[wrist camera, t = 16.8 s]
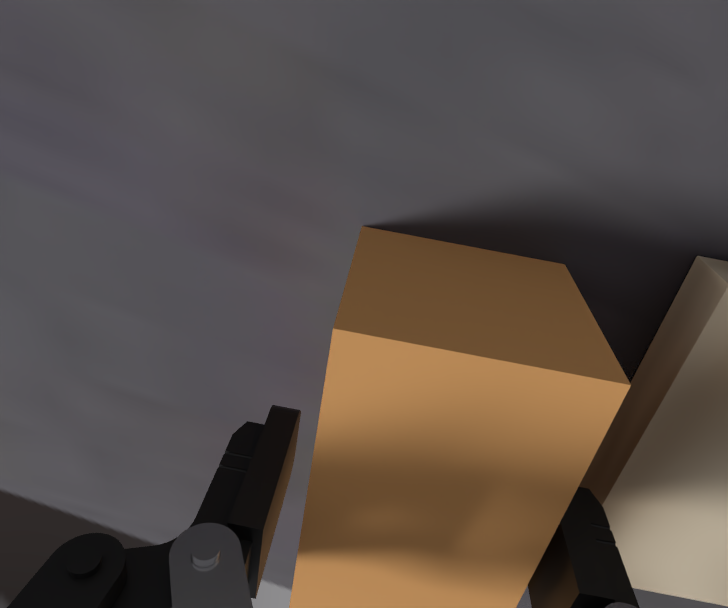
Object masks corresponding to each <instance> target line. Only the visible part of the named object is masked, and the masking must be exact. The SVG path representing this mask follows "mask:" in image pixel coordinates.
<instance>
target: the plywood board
mask: <svg viewBox="0 0 728 608" xmlns="http://www.w3.org/2000/svg"><path fill="white" fill-rule="evenodd" d="M630 384H631V386H630V388H629V390H628V392H627V394H626V396H625V398H624V400H623V402H622V404H621V406H620V408H619V410H618V412H617V413H616V415H615V417H614V419H613V421H612V423H611V425H610V427H609V429H608V431H607V433H606V435H605V437H604V439H603V440H602V442H601V444H600V446H599V448H598V450H597V452H596V454H595V456H594V458H593V460H592V462H591V464H590V466H589V467H588V469H587V471H586V473H585V475H584V477H583V479H582V481H581V483H580V485H579V487H583V488H588V489H590V491H591V492H592V493H593V495H594V496H595V497H596V498H597V500H598V501H599V502H600V504H601V505H602V506H603V508H604V511H605V513H606V516H607V519H608V522H609V525H610V530H611V531H612V533H613V536H614V539H615V541H616V547H618V550H619V553H620V555H621V558H622V561H623V564H624V566H625V569H626V572H627V575H628V578H629V580H630V583H631V586H632V588H637V589H642V590H647V591H652V592H657V593H662V594H667V595H672V596H678V597H683V598H688V599H693V600H698V601H703V602H708V603H714V604H719V605H724V606H728V261H722V260H717V259H712V258H707V257H702V256H697V257H696V259H695V261H694V263H693V264H692V266H691V268H690V270H689V272H688V274H687V276H686V278H685V280H684V282H683V284H682V285H681V287H680V289H679V291H678V293H677V295H676V297H675V299H674V301H673V303H672V304H671V306H670V308H669V310H668V312H667V314H666V316H665V318H664V320H663V322H662V324H661V325H660V327H659V329H658V331H657V333H656V335H655V337H654V339H653V341H652V343H651V345H650V346H649V348H648V350H647V352H646V354H645V356H644V358H643V360H642V362H641V364H640V365H639V367H638V369H637V371H636V373H635V375H634V377H633V379H632V381H631V383H630Z"/></svg>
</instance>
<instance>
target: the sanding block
mask: <svg viewBox="0 0 728 608" xmlns="http://www.w3.org/2000/svg"><path fill="white" fill-rule="evenodd" d="M630 386H631V384H630V382H629V380H628V379H627V377H626V375H625V373H624V371H623V369H622V368H621V366H620V364H619V362H618V360H617V359H616V357H615V355H614V353H613V351H612V349H611V348H610V346H609V344H608V342H607V340H606V338H605V337H604V335H603V333H602V331H601V329H600V328H599V326H598V324H597V322H596V320H595V318H594V317H593V315H592V313H591V311H590V309H589V307H588V306H587V304H586V302H585V300H584V298H583V297H582V295H581V293H580V291H579V289H578V287H577V286H576V284H575V282H574V280H573V278H572V276H571V275H570V273H569V271H568V269H567V267H566V265H565V264H560V263H555V262H550V261H545V260H539V259H534V258H529V257H523V256H518V255H513V254H507V253H502V252H497V251H492V250H486V249H481V248H476V247H470V246H465V245H460V244H454V243H449V242H444V241H439V240H433V239H428V238H423V237H417V236H412V235H407V234H401V233H396V232H391V231H386V230H380V229H375V228H370V227H364V226H362V228H361V232H360V235H359V239H358V242H357V246H356V249H355V253H354V256H353V260H352V264H351V267H350V271H349V274H348V278H347V281H346V285H345V288H344V292H343V296H342V299H341V303H340V306H339V310H338V313H337V317H336V320H335V324H334V327H333V333H332V339H331V346H330V352H329V358H328V365H327V371H326V377H325V384H324V390H323V396H322V403H321V409H320V415H319V422H318V428H317V434H316V441H315V447H314V453H313V460H312V466H311V472H310V479H309V485H308V491H307V498H306V504H305V510H304V517H303V523H302V529H301V536H300V542H299V549H298V555H297V561H296V568H295V574H294V580H293V587H292V593H291V599H290V606H289V608H516V606H517V604H518V602H519V601H520V599H521V597H522V595H523V593H524V591H525V589H526V587H527V585H528V583H529V581H530V579H531V577H532V575H533V574H534V572H535V570H536V568H537V566H538V564H539V562H540V560H541V558H542V556H543V554H544V552H545V550H546V548H547V547H548V545H549V543H550V541H551V539H552V537H553V535H554V533H555V531H556V529H557V527H558V525H559V523H560V521H561V520H562V518H563V516H564V514H565V512H566V510H567V508H568V506H569V504H570V502H571V500H572V498H573V496H574V494H575V493H576V491H577V489H578V487H579V485H580V483H581V481H582V479H583V477H584V475H585V473H586V471H587V469H588V467H589V466H590V464H591V462H592V460H593V458H594V456H595V454H596V452H597V450H598V448H599V446H600V444H601V442H602V440H603V439H604V437H605V435H606V433H607V431H608V429H609V427H610V425H611V423H612V421H613V419H614V417H615V415H616V413H617V412H618V410H619V408H620V406H621V404H622V402H623V400H624V398H625V396H626V394H627V392H628V390H629V388H630Z"/></svg>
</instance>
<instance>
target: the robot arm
mask: <svg viewBox="0 0 728 608" xmlns="http://www.w3.org/2000/svg"><path fill="white" fill-rule="evenodd" d="M300 414H301V411H300V410H296V409H291V408H286V407H281V406H275V405H272V407H271V409H270V412H269V414H268V417H267V420H266V422H265V425H263V424H258V423H253V422H248V421H247V422H246V423H245V424H244V425H243V426H242V427H240V428H239V429H238V430H237V431H236V432H235V433H234V434H233V435H232V437H231V439H230V442H229V444H228V446H227V448H226V451H225V454H224V455H223V457H222V460H221V462H220V464H219V468H218V469H217V471H216V473H215V475H214V478H213V480H212V482H211V484H210V487H209V489H208V491H207V493H206V496H205V498H204V500H203V502H202V505H201V507H200V509H199V511H198V514H197V516H196V518H195V520H194V522H193V523H192V525H191V526H190V527H189V528H188V529H187V530H185V531H184V532H183V533H181V534H180V535H179V536H178V537H177V538H175V539H174V540H171V541H169V542H167V543H164V544H160V545H155V546H147V547H139V548H130V549H124V548H123V546H122V544H121V543H120V542H119V541H118V540H117V539H116V538H114V537H112V536H110V535H107V534H103V533H89V534H85V535H81V536H78V537H75V538H73V539H71V540H69V541H68V542H66V543H64V544H63V545H62V546H60V547H59V548H58V549H57V550H56V551H55V552H54V553H53V554H52V555H51V556H50V558H49V559H48V560H47V561H46V562H45V563H44V565H43V566H42V567H41V568H40V569H39V571H38V572H37V573H36V574H35V575H34V576H33V578H32V579H31V580H30V581H29V582H28V584H27V585H26V586H25V587H24V588H23V589H22V591H21V592H20V593H19V594H18V595H17V597H16V598H15V599H14V600H13V601H12V603H11V604H10V605H9V606H8V607H7V608H253V606H252V601H251V598H256V595H257V592H258V588H259V585H260V581H261V578H262V574H263V571H264V567H265V564H266V560H267V557H268V553H269V550H270V546H271V543H272V539H273V535H274V532H275V528H276V525H277V521H278V518H279V514H280V511H281V507H282V504H283V500H284V497H285V493H286V489H287V486H288V482H289V479H290V475H291V471H292V467H293V462H294V457H295V450H296V443H297V436H298V429H299V422H300ZM528 589H529V594H530V600H531V605H532V608H639V605H638V603H637V600H636V597H635V594H634V592H633V589H632V586H631V583H630V580H629V578H628V575H627V572H626V569H625V566H624V564H623V561H622V558H621V555H620V553H619V550H618V547H616V541H615V539H614V536H613V533H612V531H611V530H610V525H609V522H608V519H607V516H606V513H605V511H604V508H603V506H602V505H601V504H600V502H599V501H598V500H597V498H596V497H595V496H594V495H593V493H592V492H591V491H590V489H588V488H583V487H578V489H577V491H576V493H575V494H574V496H573V498H572V500H571V502H570V504H569V506H568V508H567V510H566V512H565V514H564V516H563V518H562V520H561V521H560V523H559V525H558V527H557V529H556V531H555V533H554V535H553V537H552V539H551V541H550V543H549V545H548V547H547V548H546V550H545V552H544V554H543V556H542V558H541V560H540V562H539V564H538V566H537V568H536V570H535V572H534V574H533V575H532V577H531V579H530V581H529V583H528Z"/></svg>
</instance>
